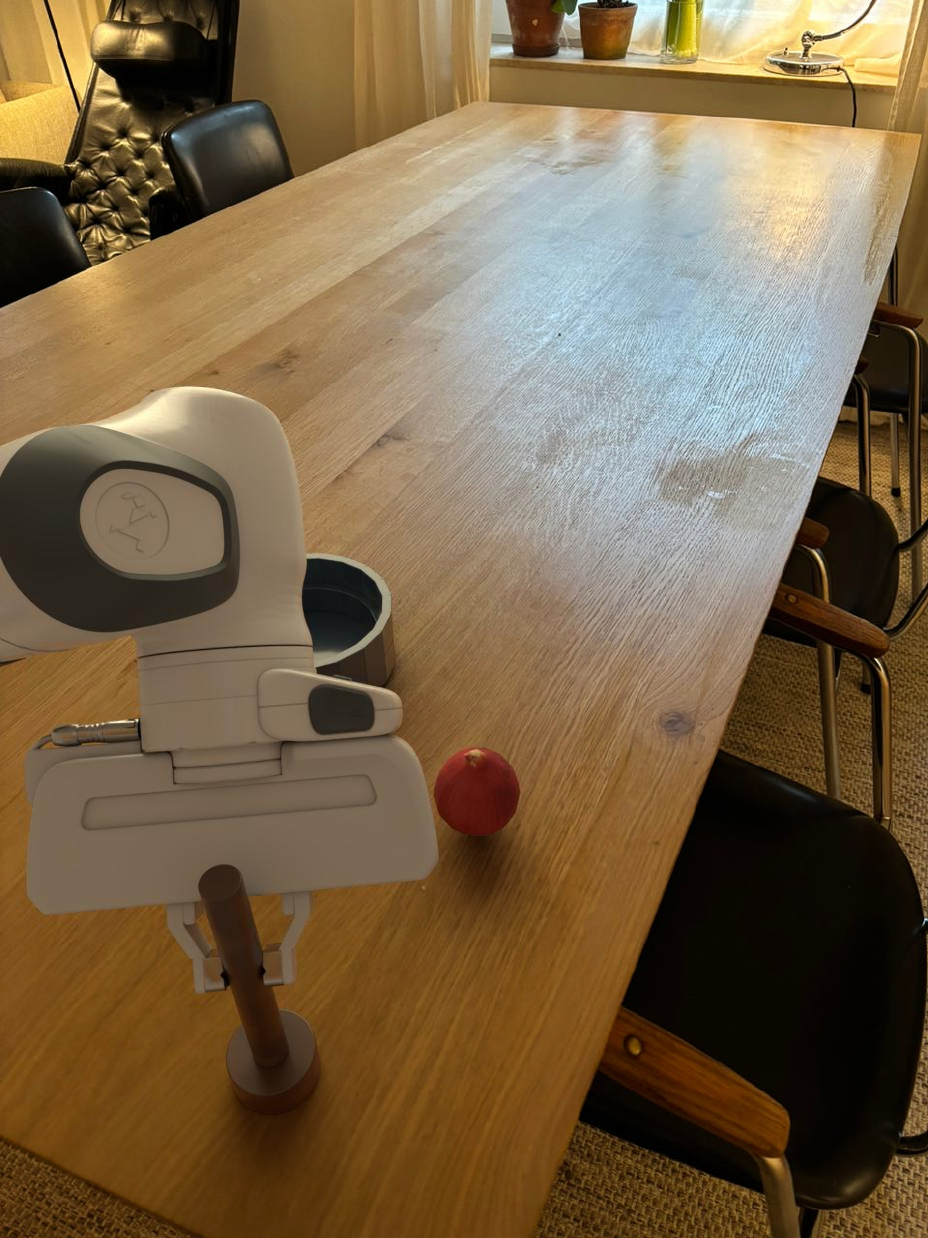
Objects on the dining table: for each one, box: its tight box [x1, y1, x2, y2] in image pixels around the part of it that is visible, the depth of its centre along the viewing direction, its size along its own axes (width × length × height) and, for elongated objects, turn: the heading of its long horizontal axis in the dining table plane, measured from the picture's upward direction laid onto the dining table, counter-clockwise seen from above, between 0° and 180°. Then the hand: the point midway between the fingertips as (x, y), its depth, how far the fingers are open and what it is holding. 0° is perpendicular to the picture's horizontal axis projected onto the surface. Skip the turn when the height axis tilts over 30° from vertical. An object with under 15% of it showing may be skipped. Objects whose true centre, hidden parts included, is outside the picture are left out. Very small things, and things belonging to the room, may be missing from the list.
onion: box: [433, 747, 521, 837], centre depth 67 cm, size 6×6×8 cm
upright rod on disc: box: [198, 864, 321, 1115], centre depth 51 cm, size 5×5×18 cm
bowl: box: [302, 552, 397, 688], centre depth 81 cm, size 15×15×6 cm
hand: (247, 986), depth 50 cm, fingers closed on upright rod on disc
